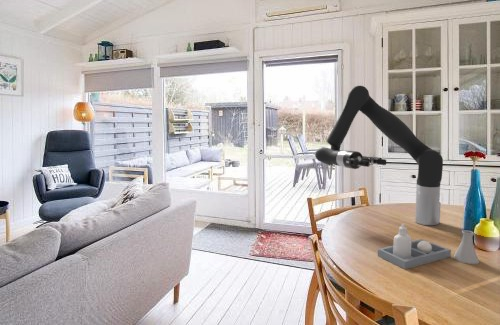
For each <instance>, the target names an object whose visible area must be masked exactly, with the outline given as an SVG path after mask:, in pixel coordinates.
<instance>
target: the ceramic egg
mask: <svg viewBox="0 0 500 325" xmlns="http://www.w3.org/2000/svg"><path fill="white" fill-rule="evenodd" d="M427 241H428V240H426V241H420V242H419V243H418V245H417V248H418V250H419V251H421V252H423V253H426V254H428V253H430V252H431V250H432V246H431V244H430V243H429V242H430V241H429V242H427Z"/></svg>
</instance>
